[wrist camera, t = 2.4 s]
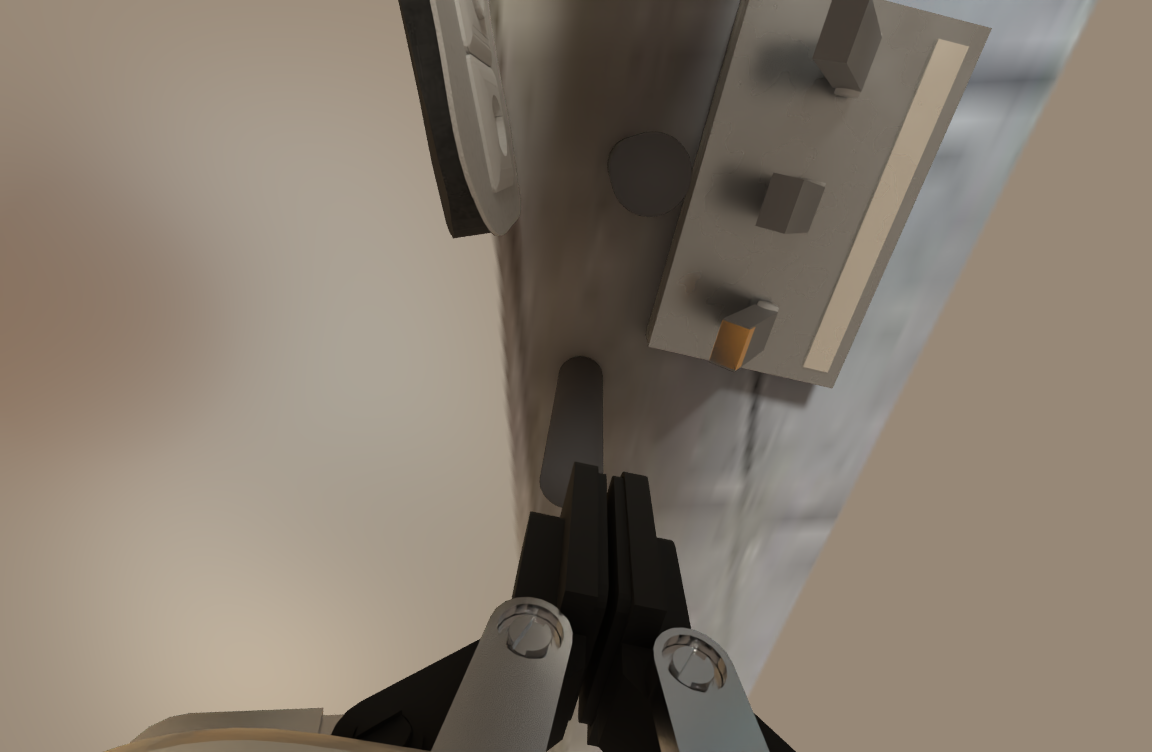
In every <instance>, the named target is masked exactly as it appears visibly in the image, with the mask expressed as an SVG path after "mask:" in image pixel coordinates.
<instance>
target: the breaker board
mask: <svg viewBox="0 0 1152 752" xmlns="http://www.w3.org/2000/svg"><path fill="white" fill-rule="evenodd" d="M831 2H832V0H741V2H740V6H739V9H738V13H737V16H736V19H735V23H734V26H733V30H732V33H731V37H730V40H729V44H728V47H727V51H726V54H725V58H724V61H723V65H722V68H721V72H720V75H719V79H718V82H717V86H716V89H715V93H714V96H713V100H712V103H711V107H710V110H709V114H708V117H707V121H706V124H705V128H704V131H703V135H702V138H701V142H700V145H699V149H698V152H697V156H696V159H695V163H694V166H693V170H692V175H691V182H690V186H689V189H688V191H687V193H686V195H685V198H684V201H683V205H682V208H681V212H680V215H679V219H678V222H677V226H676V229H675V233H674V236H673V240H672V243H671V247H670V250H669V254H668V257H667V261H666V264H665V268H664V271H663V275H662V278H661V282H660V285H659V288H658V292H657V295H656V299H655V302H654V306H653V309H652V313H651V316H650V320H649V323H648V327H647V330H646V339H647V343H648V347H652V348H656V349H661V350H665V351H669V352H674V353H678V354H683V355H687V356H691V357H696V358H700V359H705V360H709V359H710V356H711V353H712V350H713V347H714V344H715V341H716V338H717V335H718V332H719V329H720V326H721V324H722V321H723V319H724V318H725V317H727V316H730V315H732V314H734V313H736V312H739V311H741V310H743V309H745V308H747V307H750V306H752V305H754V304H756V305H757V304H758V302H759V301H766V302H770V303H773V304H775V305H777V306H779V309H778V314H777V316H776V319H775V322H774V324H773V327H772V330H771V332H770V335H769V338H768V340H767V343H766V345H765V348H764V350H763V351H762V352H761V353H759V354H758V355H757V356H755V357H754V358H753V359H751V360H750V361H749V362H747V363H746V364H745V365H743V366H742V367H741V368H745V369H749V370H753V371H758V372H762V373H767V374H771V375H776V376H780V377H784V378H789V379H793V380H798V381H802V382H807V383H811V384H815V385H820V386H824V387H829V388H833V386H834V384H835V381H836V379H837V377H838V375H839V372H840V370H841V368H842V366H843V363H844V361H845V359H846V357H847V354H848V352H849V350H850V348H851V345H852V343H853V341H854V339H855V336H856V334H857V332H858V329H859V327H860V325H861V323H862V320H863V318H864V316H865V314H866V311H867V309H868V307H869V305H870V302H871V300H872V298H873V296H874V293H875V291H876V289H877V287H878V284H879V282H880V280H881V278H882V275H883V273H884V271H885V269H886V266H887V264H888V262H889V259H890V257H891V255H892V253H893V250H894V248H895V246H896V244H897V241H898V239H899V237H900V235H901V232H902V230H903V228H904V226H905V223H906V221H907V219H908V217H909V214H910V212H911V210H912V208H913V205H914V203H915V201H916V199H917V196H918V194H919V192H920V190H921V187H922V185H923V183H924V180H925V178H926V176H927V174H928V171H929V169H930V167H931V165H932V162H933V160H934V158H935V156H936V153H937V151H938V149H939V147H940V144H941V142H942V140H943V138H944V135H945V133H946V131H947V129H948V126H949V124H950V122H951V120H952V117H953V115H954V113H955V111H956V108H957V106H958V104H959V101H960V99H961V97H962V95H963V92H964V90H965V88H966V86H967V83H968V81H969V79H970V77H971V74H972V72H973V70H974V68H975V65H976V63H977V61H978V59H979V56H980V54H981V52H982V50H983V47H984V45H985V43H986V41H987V38H988V36H989V34H990V31H991V29H992V28H988V27H985V26H981V25H977V24H973V23H969V22H965V21H962V20H958V19H954V18H950V17H946V16H942V15H939V14H935V13H931V12H927V11H923V10H919V9H916V8H912V7H908V6H904V5H900V4H896V3H893V2H889V1H885V0H873V3H874V7H875V11H876V15H877V19H878V23H879V27H880V31H881V33H882V39H881V42H880V44H879V47H878V50H877V52H876V55H875V58H874V60H873V63H872V65H871V68H870V71H869V73H868V76H867V79H866V81H865V84H864V87H863V89H862V92H860V95H859V97H858V98H848V97H842V96H839V95H836V94H834V91H835V89H836V88H833V87H832V86H831V84H830V83H829V82H828V80H827V79H826V77H825V76H824V74H823V73H822V72H821V70H820V69H819V67H818V66H817V64H816V63H815V62H814V60H813V59H812V57H813V54H814V52H815V49H816V46H817V43H818V40H819V37H820V34H821V31H822V28H823V25H824V22H825V19H826V16H827V13H828V10H829V7H830V4H831ZM773 172H774V173H778V174H782V175H787V176H791V177H795V178H800V179H803V178H806V179H811V180H815V181H819V182H823V183H826V185H825V190H824V192H823V195H822V198H821V200H820V203H819V205H818V208H817V211H816V213H815V216H814V219H813V221H812V224H811V227H810V229H809V232H808V233H807V235H806V236H805V235H800V234H796V233H791V234H783V233H780V232H776V231H772V230H769V229H765V228H761V227H758V226H755V225H756V222H757V219H758V216H759V213H760V210H761V207H762V204H763V201H764V198H765V195H766V193H767V190H768V187H769V184H770V181H771V178H772V175H773Z"/></svg>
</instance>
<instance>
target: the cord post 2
mask: <svg viewBox="0 0 1152 752" xmlns="http://www.w3.org/2000/svg"><path fill="white" fill-rule="evenodd" d="M608 172H609V176H610V180H611V183H612V187H613V190H614V193H615V195H616V197H617V199H618V200H619V202H620V203H621V204H622V205H623V206H624V207H625V208H626V209H628V210H629V211H631V212H632V213H635V214H637V215H640V216H646V217H652V216H659V215H662V214H665V213H667V212H669V211H671V210H672V209H673V208H675V207H676V206H677V205H678V204H679V203H680V202H681V201H682V200H683V198H684V196H685V195H686V193H687V191H688V189H689V186H690V182H691V175H692V170H691V162H690V159H689V156H688V154H687V152H686V150H685V149H684V147H683V146H682V145H681V143H679V142H678V141H677V140H676V139H675V138H673V137H671V136H669V135H667V134H664V133H660V132H646V133H643V134H639V135H636V136H632V137H629V138H626V139H623V140H621V141H620V142H618V143H617V144H616V145H615V146H614V148H613V149H612V151H611V152H610V155H609V158H608Z"/></svg>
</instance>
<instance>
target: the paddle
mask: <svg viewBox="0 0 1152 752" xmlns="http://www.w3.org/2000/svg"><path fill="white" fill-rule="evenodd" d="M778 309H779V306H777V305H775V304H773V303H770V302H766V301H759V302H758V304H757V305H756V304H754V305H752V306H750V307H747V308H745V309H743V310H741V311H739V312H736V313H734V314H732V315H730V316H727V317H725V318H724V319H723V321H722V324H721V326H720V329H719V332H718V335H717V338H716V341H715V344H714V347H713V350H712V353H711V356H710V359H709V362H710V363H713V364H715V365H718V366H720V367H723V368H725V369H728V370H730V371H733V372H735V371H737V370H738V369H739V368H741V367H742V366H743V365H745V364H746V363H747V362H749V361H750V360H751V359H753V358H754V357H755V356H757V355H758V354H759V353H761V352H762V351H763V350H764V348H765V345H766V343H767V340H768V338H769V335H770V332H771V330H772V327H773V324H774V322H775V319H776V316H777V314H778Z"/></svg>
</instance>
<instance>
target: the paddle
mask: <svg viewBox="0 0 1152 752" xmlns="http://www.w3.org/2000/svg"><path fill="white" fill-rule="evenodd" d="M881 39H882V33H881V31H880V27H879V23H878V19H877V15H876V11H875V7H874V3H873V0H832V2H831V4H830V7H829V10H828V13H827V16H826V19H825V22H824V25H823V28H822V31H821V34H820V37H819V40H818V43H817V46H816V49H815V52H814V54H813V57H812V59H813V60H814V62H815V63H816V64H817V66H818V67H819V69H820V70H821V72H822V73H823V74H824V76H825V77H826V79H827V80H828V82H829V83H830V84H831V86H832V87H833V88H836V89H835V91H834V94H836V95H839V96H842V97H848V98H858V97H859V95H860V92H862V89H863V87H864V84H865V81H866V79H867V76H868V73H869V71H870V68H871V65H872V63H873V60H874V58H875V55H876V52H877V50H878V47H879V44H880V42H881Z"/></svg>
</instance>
